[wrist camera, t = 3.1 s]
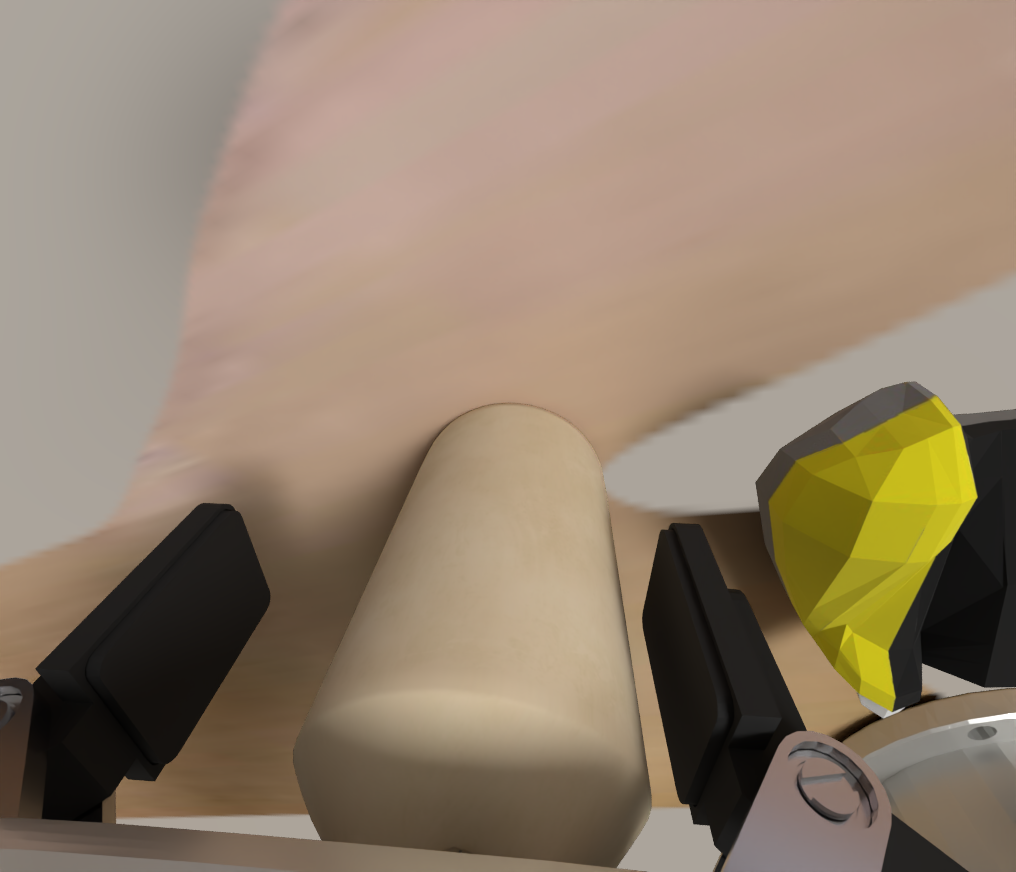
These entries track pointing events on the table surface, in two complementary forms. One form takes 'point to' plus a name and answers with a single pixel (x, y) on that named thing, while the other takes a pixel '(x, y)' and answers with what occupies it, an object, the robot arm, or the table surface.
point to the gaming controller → (900, 542)
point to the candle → (487, 662)
